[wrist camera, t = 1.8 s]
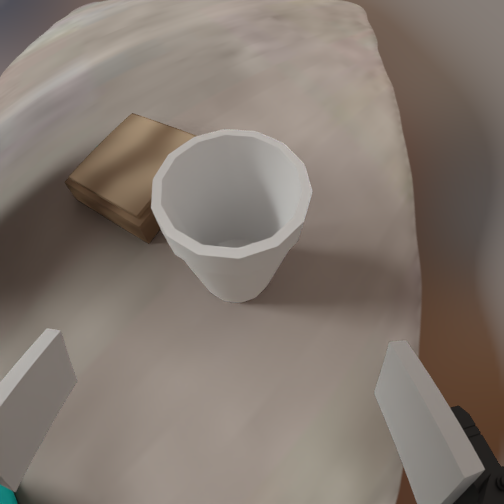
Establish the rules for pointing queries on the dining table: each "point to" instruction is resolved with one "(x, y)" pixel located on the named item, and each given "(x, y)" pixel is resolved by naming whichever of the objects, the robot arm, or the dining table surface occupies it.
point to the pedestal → (126, 173)
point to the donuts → (7, 496)
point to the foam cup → (232, 208)
